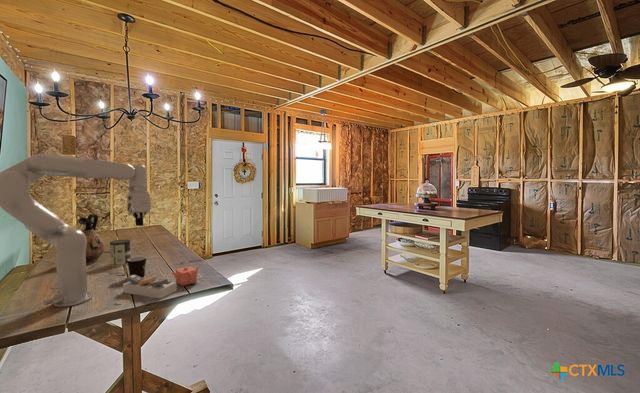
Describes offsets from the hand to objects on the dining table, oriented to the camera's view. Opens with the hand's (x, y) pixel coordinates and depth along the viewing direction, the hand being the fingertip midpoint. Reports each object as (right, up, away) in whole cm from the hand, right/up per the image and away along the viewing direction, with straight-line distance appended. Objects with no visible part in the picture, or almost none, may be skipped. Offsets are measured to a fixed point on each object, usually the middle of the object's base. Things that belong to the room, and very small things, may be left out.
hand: (139, 225), depth 142 cm
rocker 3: (+18, -25, -14) cm, 34 cm away
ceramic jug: (-54, -27, +35) cm, 70 cm away
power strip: (+9, -30, -10) cm, 33 cm away
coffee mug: (-6, -29, +10) cm, 31 cm away
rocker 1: (+5, -24, -10) cm, 27 cm away
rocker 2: (+11, -24, -12) cm, 30 cm away
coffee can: (-31, -27, +31) cm, 52 cm away
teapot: (+24, -30, +1) cm, 38 cm away
